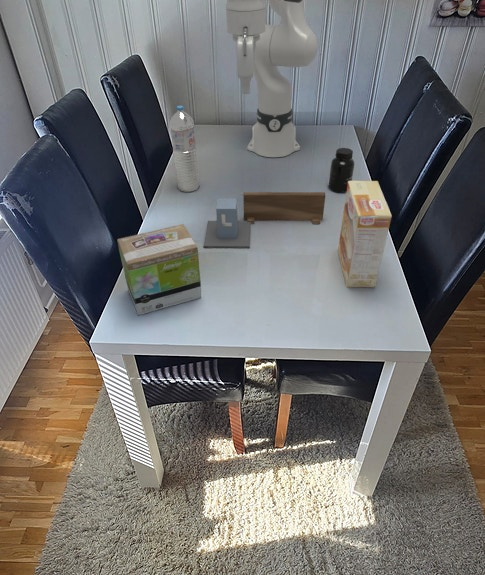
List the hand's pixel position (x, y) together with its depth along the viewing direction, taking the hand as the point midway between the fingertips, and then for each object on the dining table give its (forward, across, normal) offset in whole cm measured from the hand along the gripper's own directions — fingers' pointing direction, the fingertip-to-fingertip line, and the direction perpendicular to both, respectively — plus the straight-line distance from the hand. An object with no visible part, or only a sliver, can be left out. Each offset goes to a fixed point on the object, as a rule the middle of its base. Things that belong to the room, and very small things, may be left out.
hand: (246, 86), depth 110 cm
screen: (+33, -8, -10) cm, 36 cm away
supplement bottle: (+33, +10, -28) cm, 45 cm away
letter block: (+32, -16, +5) cm, 37 cm away
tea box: (+33, -40, +18) cm, 55 cm away
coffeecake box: (+33, -30, -27) cm, 52 cm away
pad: (+33, -16, +5) cm, 37 cm away
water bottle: (+33, +10, +19) cm, 40 cm away
